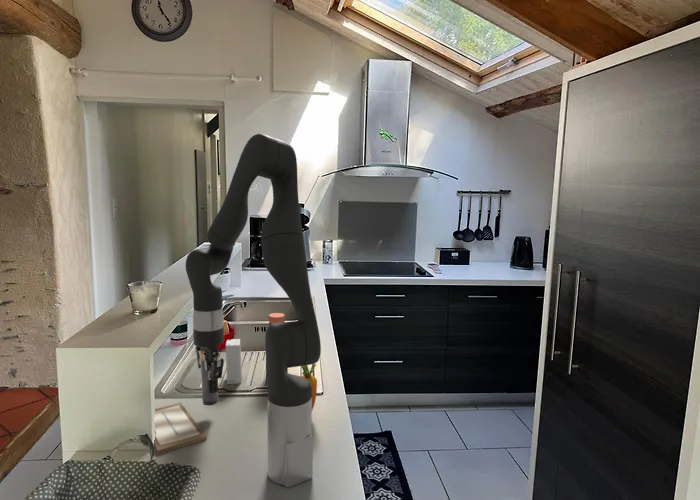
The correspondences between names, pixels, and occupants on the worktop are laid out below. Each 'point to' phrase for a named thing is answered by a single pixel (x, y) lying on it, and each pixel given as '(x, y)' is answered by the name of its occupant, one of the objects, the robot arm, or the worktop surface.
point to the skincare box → (233, 361)
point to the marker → (206, 396)
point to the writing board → (175, 428)
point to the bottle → (276, 319)
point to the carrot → (311, 380)
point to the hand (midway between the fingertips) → (210, 389)
